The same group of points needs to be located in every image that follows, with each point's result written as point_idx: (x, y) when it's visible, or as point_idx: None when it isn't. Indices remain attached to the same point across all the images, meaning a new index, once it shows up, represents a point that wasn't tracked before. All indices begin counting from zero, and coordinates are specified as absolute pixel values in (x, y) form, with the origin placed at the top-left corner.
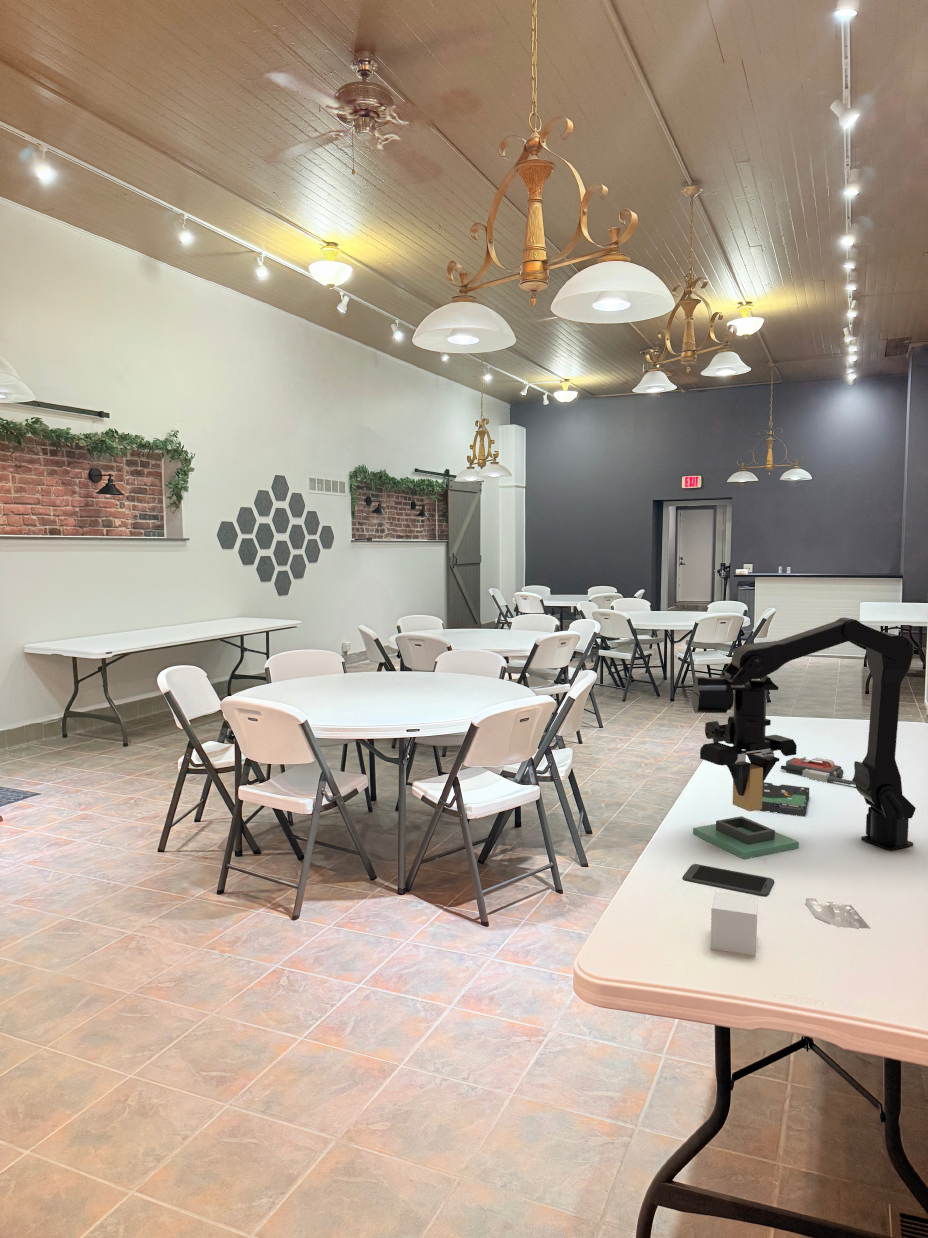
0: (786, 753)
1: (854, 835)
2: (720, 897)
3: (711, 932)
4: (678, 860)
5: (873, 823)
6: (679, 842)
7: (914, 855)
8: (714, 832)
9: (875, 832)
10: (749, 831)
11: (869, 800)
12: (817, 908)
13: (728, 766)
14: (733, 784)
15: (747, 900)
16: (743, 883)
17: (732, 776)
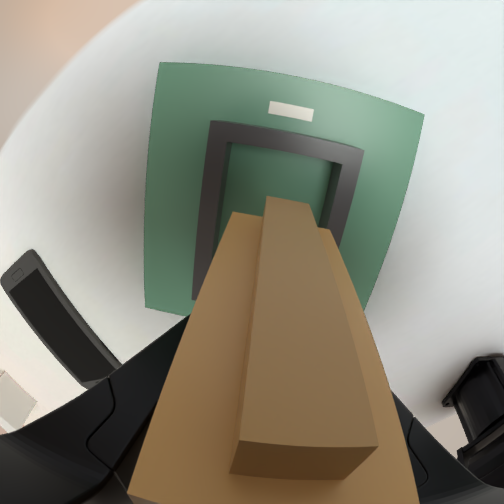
0: None
1: (495, 336)
2: None
3: None
4: (21, 209)
5: (481, 404)
6: (82, 108)
7: (441, 418)
8: (189, 138)
9: (470, 397)
10: (315, 208)
11: (492, 445)
12: None
13: (7, 449)
14: (203, 285)
15: (8, 426)
16: (71, 357)
17: (99, 389)
